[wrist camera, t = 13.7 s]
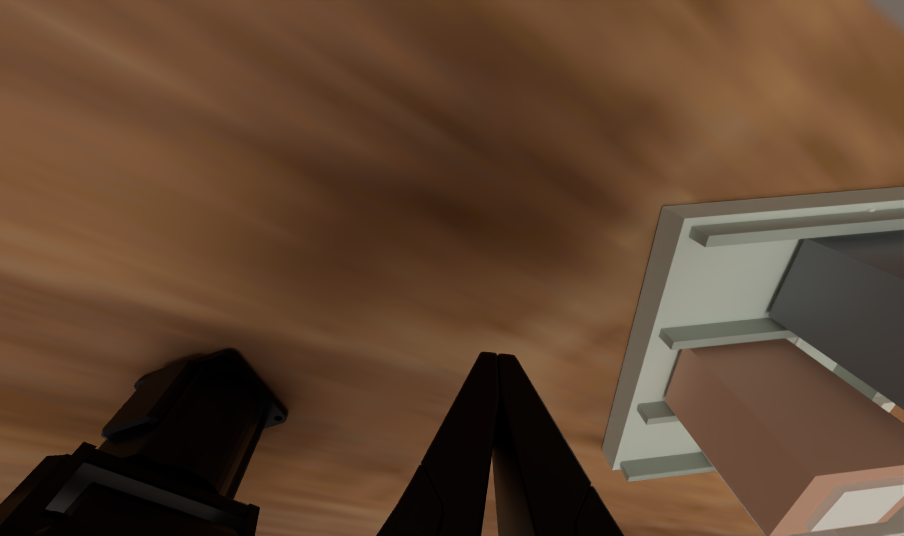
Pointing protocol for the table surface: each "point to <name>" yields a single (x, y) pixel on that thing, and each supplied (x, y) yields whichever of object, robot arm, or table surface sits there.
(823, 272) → the black block
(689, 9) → the table surface
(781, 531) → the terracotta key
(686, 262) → the pale green divided tray
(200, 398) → the robot arm
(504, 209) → the table surface
